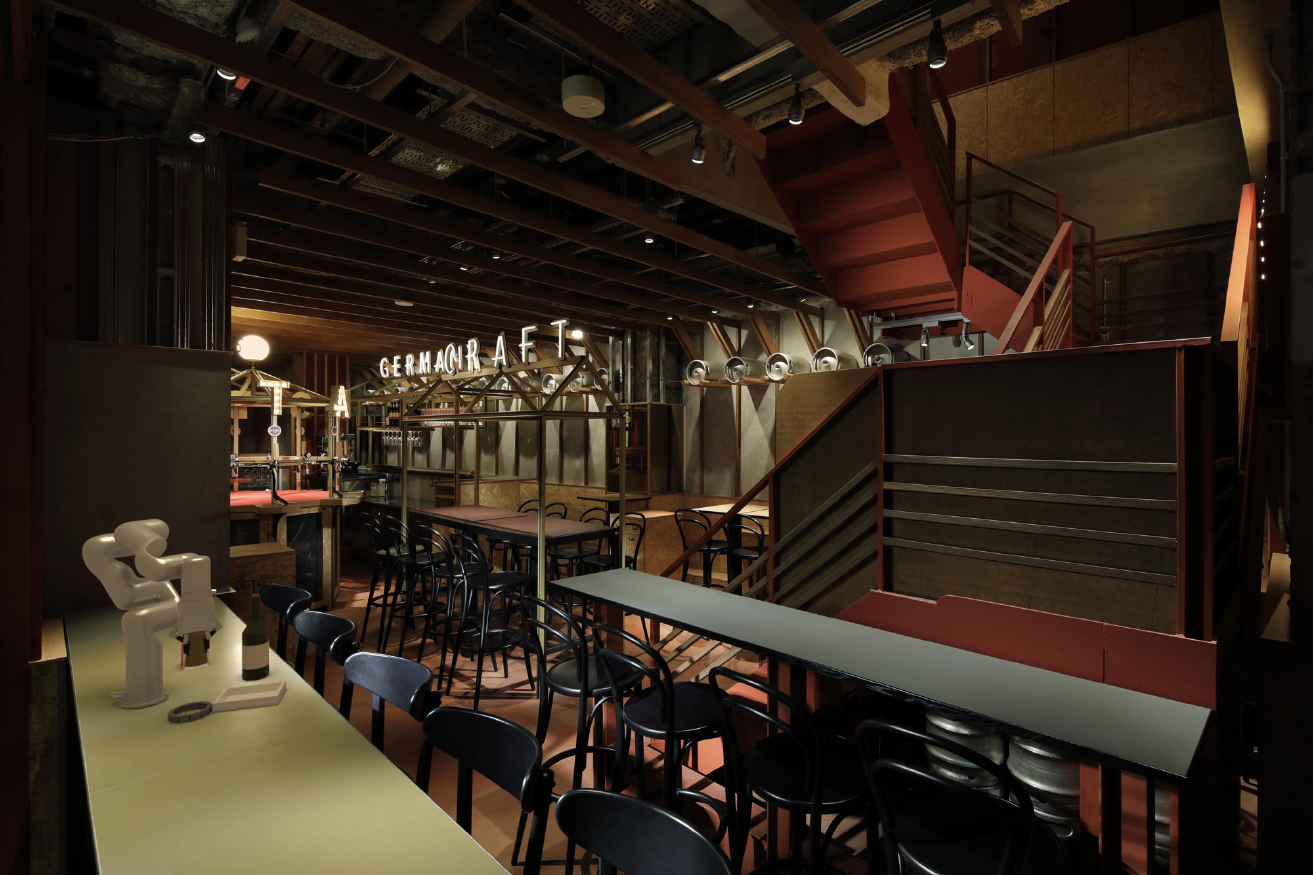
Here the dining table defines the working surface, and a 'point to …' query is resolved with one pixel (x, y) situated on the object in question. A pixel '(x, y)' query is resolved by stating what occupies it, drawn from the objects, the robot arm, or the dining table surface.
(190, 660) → the cork
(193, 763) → the dining table surface
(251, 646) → the wine bottle
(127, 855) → the dining table surface
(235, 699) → the white rectangular tray
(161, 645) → the robot arm
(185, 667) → the small red white box
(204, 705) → the stone ring
